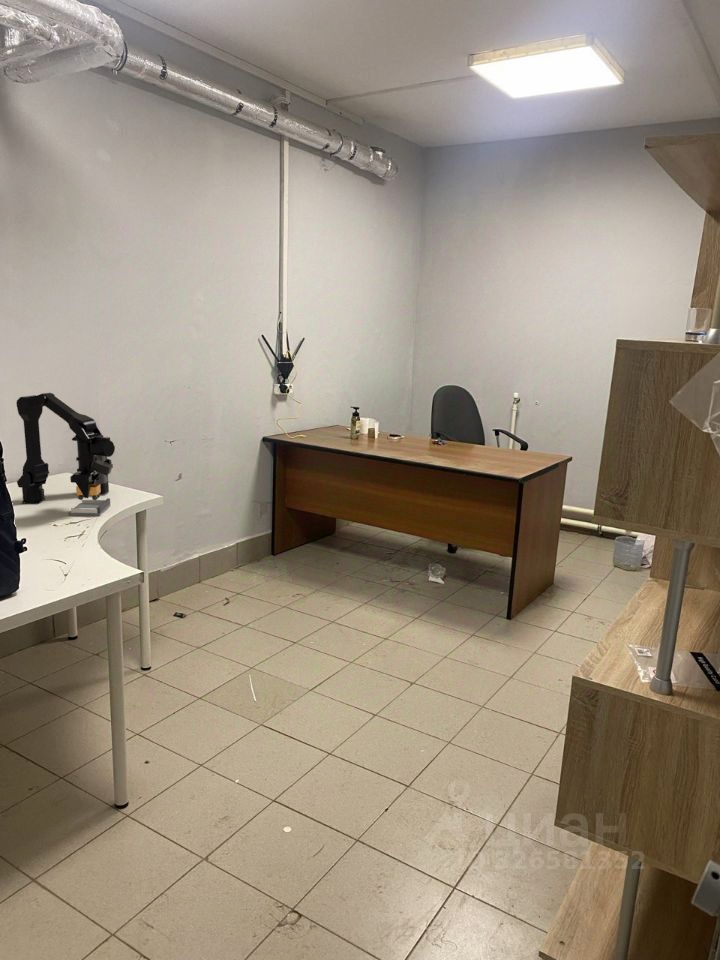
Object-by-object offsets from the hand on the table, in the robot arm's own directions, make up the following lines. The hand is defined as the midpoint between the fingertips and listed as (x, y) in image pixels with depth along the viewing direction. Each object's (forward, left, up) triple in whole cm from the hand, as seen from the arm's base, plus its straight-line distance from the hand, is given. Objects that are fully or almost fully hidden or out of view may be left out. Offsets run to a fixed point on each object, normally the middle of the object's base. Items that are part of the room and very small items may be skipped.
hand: (88, 496), depth 247 cm
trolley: (0, 0, -1) cm, 1 cm away
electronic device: (-5, +24, -6) cm, 25 cm away
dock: (0, 0, -5) cm, 5 cm away
